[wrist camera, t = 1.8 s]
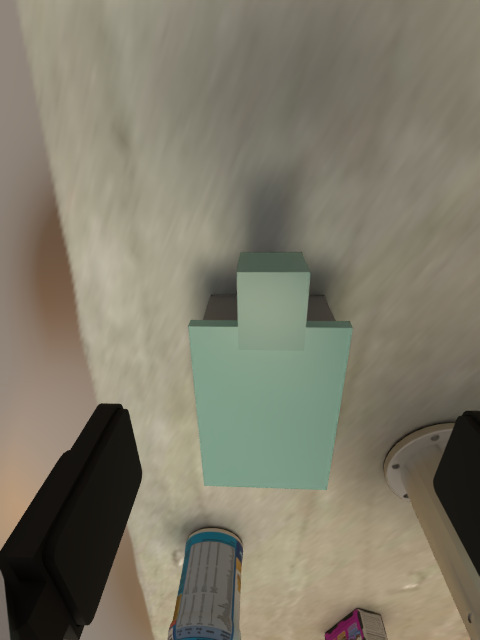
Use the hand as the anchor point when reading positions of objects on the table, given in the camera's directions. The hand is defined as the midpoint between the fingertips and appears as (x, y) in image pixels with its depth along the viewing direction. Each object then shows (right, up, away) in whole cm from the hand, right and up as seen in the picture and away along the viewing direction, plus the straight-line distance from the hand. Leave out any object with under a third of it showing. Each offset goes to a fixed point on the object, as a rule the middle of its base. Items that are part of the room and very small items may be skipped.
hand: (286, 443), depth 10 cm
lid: (+1, -2, +17) cm, 17 cm away
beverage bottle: (-5, -28, +38) cm, 47 cm away
